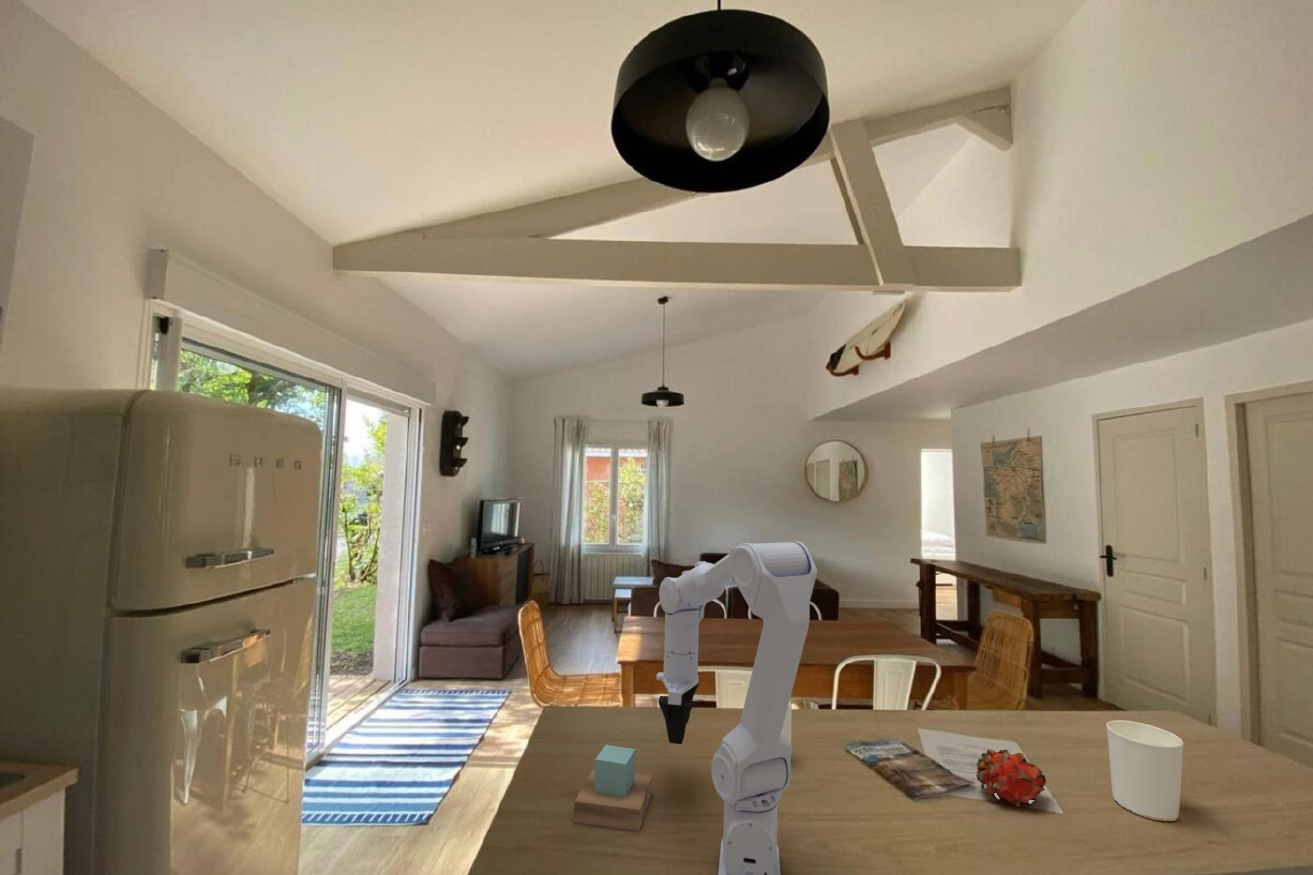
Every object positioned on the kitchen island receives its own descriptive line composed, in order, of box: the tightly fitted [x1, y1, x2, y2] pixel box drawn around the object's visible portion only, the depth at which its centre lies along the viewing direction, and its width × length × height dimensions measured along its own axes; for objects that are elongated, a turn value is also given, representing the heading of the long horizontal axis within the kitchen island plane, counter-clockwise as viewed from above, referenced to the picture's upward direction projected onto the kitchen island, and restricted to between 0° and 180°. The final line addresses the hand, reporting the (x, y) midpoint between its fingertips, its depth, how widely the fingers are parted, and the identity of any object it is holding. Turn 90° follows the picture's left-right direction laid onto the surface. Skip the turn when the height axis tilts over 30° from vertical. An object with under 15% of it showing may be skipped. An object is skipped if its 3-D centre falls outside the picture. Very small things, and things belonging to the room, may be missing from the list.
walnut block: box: [573, 767, 653, 832], centre depth 91 cm, size 10×10×4 cm
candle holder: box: [1106, 719, 1185, 819], centre depth 96 cm, size 10×10×12 cm
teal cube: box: [594, 744, 636, 798], centre depth 92 cm, size 5×5×5 cm
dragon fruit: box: [975, 748, 1047, 808], centre depth 97 cm, size 8×8×12 cm
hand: (679, 732), depth 97 cm, fingers open, 7 cm apart
